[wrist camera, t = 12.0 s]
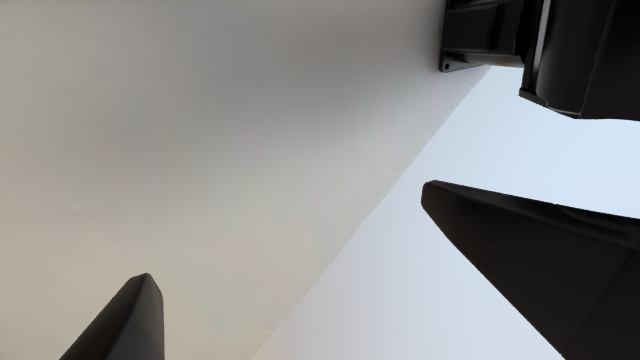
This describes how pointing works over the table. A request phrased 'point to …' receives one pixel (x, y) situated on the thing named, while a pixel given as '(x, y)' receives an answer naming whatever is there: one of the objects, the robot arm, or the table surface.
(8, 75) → the table surface
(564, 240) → the robot arm
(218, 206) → the table surface
